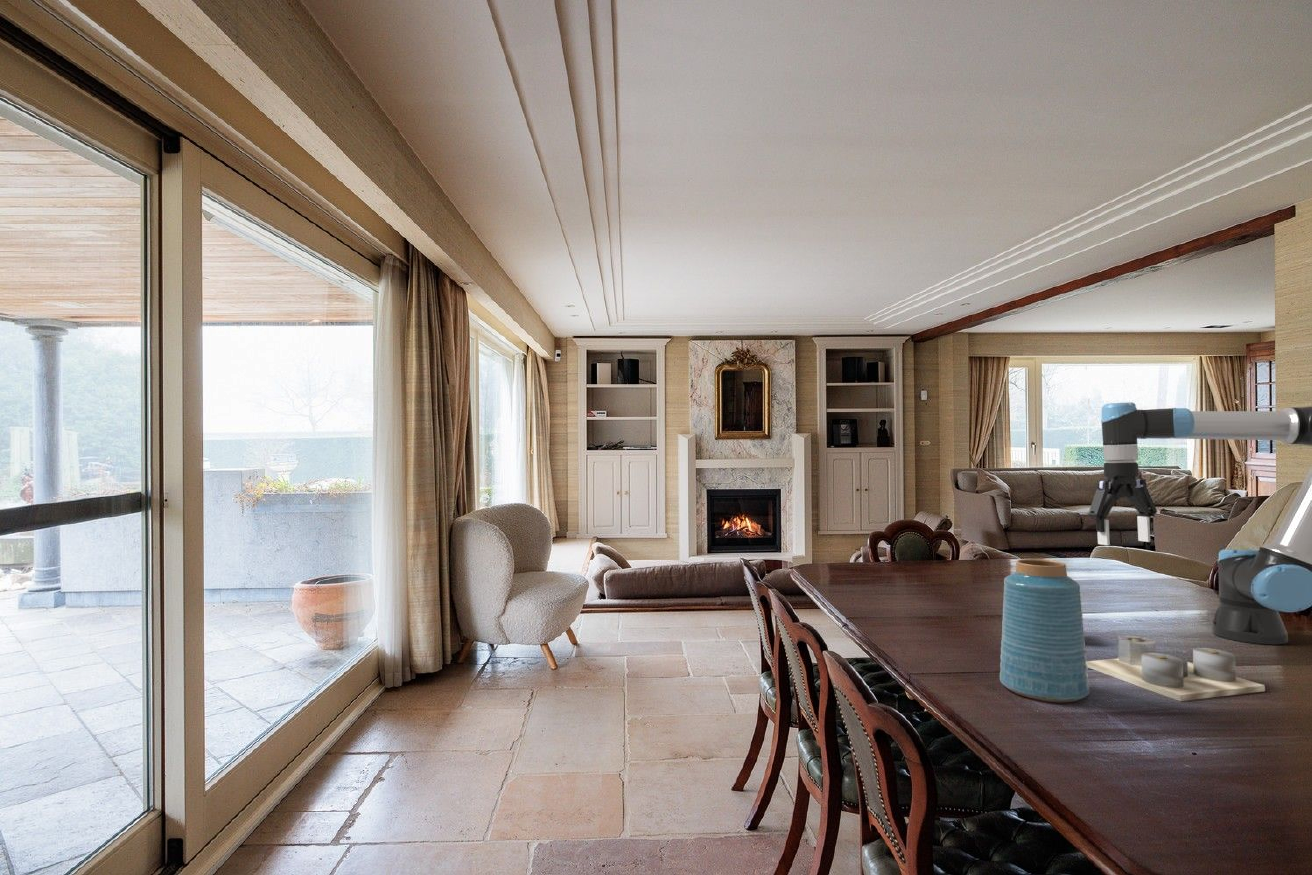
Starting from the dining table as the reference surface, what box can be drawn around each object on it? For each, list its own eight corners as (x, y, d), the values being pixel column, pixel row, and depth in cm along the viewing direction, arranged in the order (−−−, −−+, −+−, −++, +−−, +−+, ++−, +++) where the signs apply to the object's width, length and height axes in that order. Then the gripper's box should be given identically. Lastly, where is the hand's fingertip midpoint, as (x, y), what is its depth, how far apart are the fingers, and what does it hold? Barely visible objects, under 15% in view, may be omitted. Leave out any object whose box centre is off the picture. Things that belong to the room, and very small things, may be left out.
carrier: (1162, 658, 160) (1162, 631, 160) (1264, 691, 139) (1264, 659, 139) (1086, 666, 155) (1085, 638, 155) (1179, 701, 134) (1178, 668, 134)
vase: (1077, 681, 146) (1075, 557, 146) (1100, 708, 131) (1097, 571, 131) (994, 673, 151) (992, 554, 152) (1006, 699, 136) (1003, 567, 136)
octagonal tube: (1135, 655, 159) (1134, 634, 159) (1163, 664, 152) (1163, 642, 152) (1110, 658, 158) (1110, 636, 158) (1138, 667, 151) (1138, 645, 151)
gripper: (1143, 460, 183) (1147, 538, 183) (1070, 463, 177) (1073, 544, 176) (1171, 460, 176) (1174, 541, 175) (1095, 463, 169) (1099, 547, 169)
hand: (1124, 543), depth 176 cm, fingers open, 13 cm apart
